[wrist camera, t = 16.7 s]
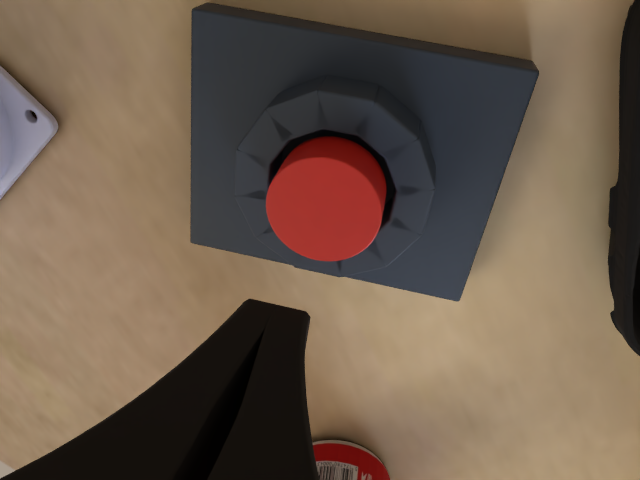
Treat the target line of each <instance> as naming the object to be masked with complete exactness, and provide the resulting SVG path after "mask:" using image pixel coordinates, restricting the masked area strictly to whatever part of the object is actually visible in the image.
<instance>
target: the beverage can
mask: <svg viewBox="0 0 640 480" xmlns="http://www.w3.org/2000/svg"><path fill="white" fill-rule="evenodd" d="M312 444H313V449H314V455H315V460H316V465H317V470H318V474H319V479H320V480H390V478H389V475H388V471H387V469H386V468H385V466H384V465H383V463H382V462H381V461H380V459H379V458H378V457H377V456H376V455H375V454H373V453H372V452H370V451H369V450H368V449H366V448H364V447H362V446H360V445H357V444H354V443H351V442H346V441H341V440H323V441H317V442H313V443H312Z"/></svg>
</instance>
